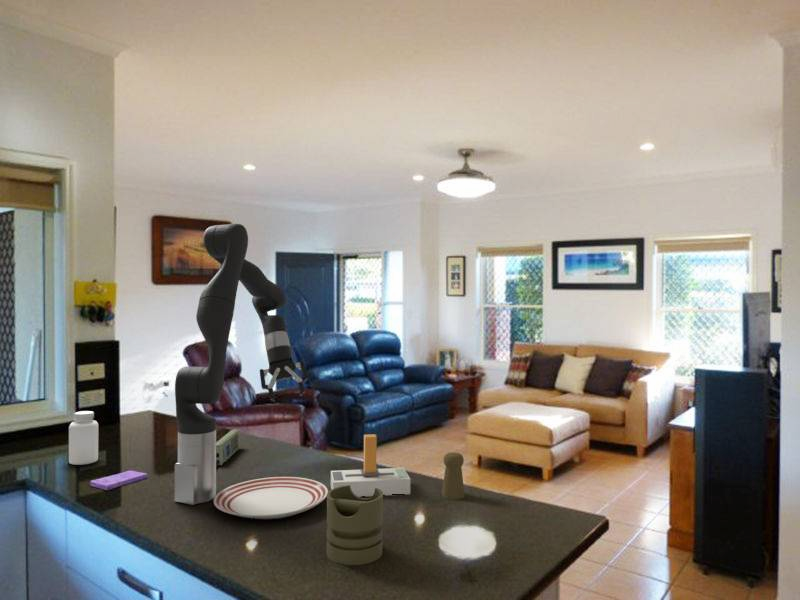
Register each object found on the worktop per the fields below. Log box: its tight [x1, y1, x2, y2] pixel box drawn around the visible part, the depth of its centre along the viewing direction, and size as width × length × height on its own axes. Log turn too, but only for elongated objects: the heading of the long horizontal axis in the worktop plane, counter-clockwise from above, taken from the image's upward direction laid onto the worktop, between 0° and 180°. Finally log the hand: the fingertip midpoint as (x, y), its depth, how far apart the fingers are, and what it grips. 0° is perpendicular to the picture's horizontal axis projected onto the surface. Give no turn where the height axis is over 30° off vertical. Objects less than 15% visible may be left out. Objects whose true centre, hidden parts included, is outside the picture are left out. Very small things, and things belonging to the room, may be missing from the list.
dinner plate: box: [213, 476, 329, 520], centre depth 151 cm, size 27×27×3 cm
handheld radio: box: [216, 428, 240, 467], centre depth 191 cm, size 7×3×25 cm
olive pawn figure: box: [441, 452, 466, 501], centre depth 160 cm, size 6×6×11 cm
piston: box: [326, 485, 384, 566], centre depth 125 cm, size 11×12×11 cm
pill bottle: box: [68, 410, 99, 466], centre depth 186 cm, size 8×8×15 cm
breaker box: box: [330, 467, 411, 498], centre depth 163 cm, size 20×10×4 cm, turn 100°
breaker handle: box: [360, 433, 379, 476], centre depth 163 cm, size 4×4×10 cm
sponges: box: [89, 470, 148, 491], centre depth 168 cm, size 7×13×2 cm, turn 150°
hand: (287, 398), depth 189 cm, fingers open, 8 cm apart
